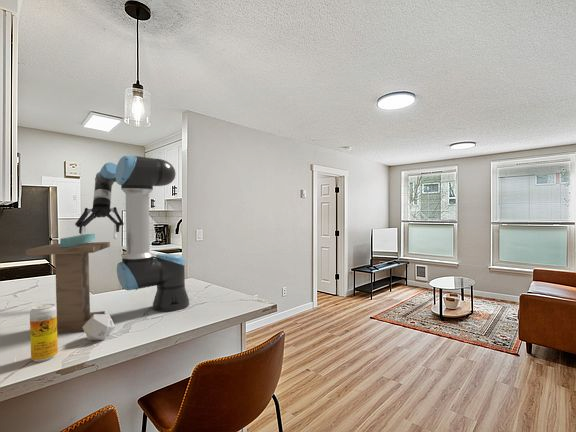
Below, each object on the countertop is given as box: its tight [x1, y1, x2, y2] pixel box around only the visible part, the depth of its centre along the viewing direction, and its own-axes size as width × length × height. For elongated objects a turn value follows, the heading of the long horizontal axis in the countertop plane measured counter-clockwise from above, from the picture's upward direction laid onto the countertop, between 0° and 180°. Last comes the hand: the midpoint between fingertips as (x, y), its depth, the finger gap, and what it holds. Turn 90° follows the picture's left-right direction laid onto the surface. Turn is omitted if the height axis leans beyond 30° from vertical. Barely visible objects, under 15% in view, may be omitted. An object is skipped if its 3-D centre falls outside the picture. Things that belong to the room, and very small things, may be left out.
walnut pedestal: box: [25, 241, 111, 335], centre depth 116 cm, size 20×20×30 cm
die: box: [82, 313, 116, 341], centre depth 103 cm, size 8×9×10 cm
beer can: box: [29, 303, 59, 363], centre depth 90 cm, size 6×6×15 cm
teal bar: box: [59, 233, 96, 247], centre depth 122 cm, size 26×3×3 cm, turn 15°
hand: (98, 239), depth 147 cm, fingers open, 13 cm apart
